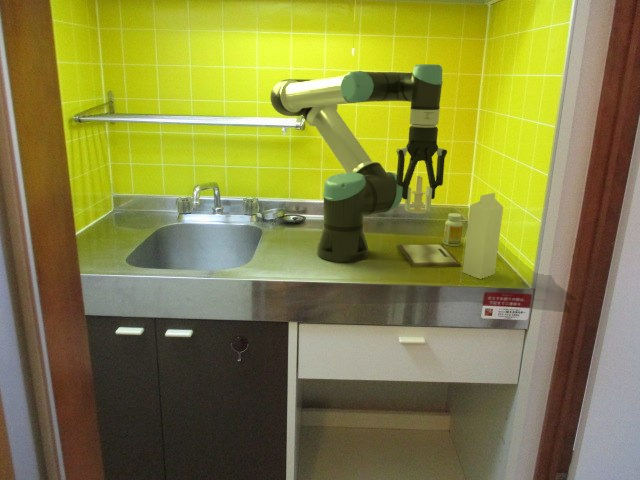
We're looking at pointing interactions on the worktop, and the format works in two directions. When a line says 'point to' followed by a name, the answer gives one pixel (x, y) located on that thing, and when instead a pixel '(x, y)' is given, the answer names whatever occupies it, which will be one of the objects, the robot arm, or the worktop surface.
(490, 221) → the milk
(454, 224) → the supplement bottle
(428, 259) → the writing board
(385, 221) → the worktop surface
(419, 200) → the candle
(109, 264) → the worktop surface
